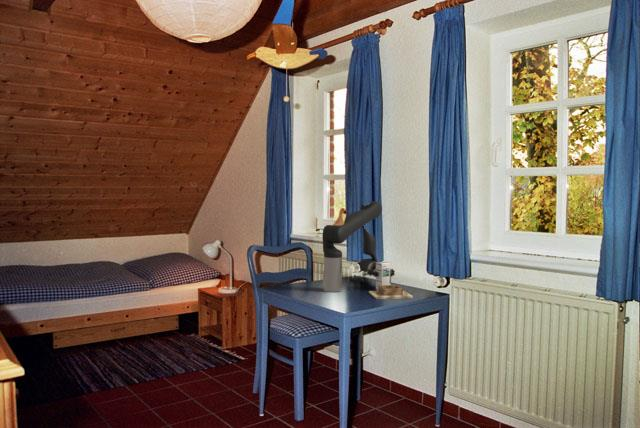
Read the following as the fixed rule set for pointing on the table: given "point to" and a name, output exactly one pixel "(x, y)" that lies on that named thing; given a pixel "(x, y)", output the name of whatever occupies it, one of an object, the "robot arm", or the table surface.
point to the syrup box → (383, 273)
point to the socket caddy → (390, 292)
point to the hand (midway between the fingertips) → (384, 274)
